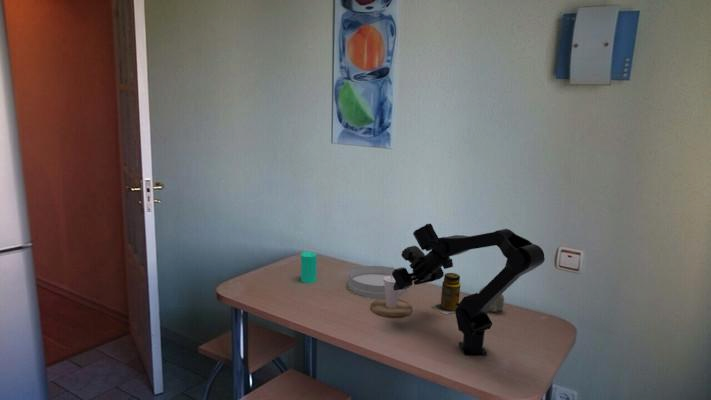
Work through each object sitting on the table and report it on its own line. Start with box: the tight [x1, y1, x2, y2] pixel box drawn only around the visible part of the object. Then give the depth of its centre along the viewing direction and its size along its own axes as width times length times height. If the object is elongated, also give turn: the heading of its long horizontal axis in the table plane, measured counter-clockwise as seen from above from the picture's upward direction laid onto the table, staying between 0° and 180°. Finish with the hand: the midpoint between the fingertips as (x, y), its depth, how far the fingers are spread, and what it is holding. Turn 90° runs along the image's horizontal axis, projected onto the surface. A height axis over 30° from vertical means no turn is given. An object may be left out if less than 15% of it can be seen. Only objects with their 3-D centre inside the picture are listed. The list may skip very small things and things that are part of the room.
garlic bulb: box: [478, 285, 505, 312], centre depth 171 cm, size 9×8×10 cm
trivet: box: [370, 298, 413, 319], centre depth 168 cm, size 14×14×1 cm
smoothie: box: [383, 265, 400, 308], centre depth 167 cm, size 6×6×14 cm
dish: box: [347, 265, 408, 299], centre depth 188 cm, size 22×22×5 cm
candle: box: [300, 251, 318, 284], centre depth 191 cm, size 6×6×12 cm
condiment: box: [430, 272, 461, 315], centre depth 170 cm, size 7×8×12 cm
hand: (404, 286), depth 163 cm, fingers open, 9 cm apart
